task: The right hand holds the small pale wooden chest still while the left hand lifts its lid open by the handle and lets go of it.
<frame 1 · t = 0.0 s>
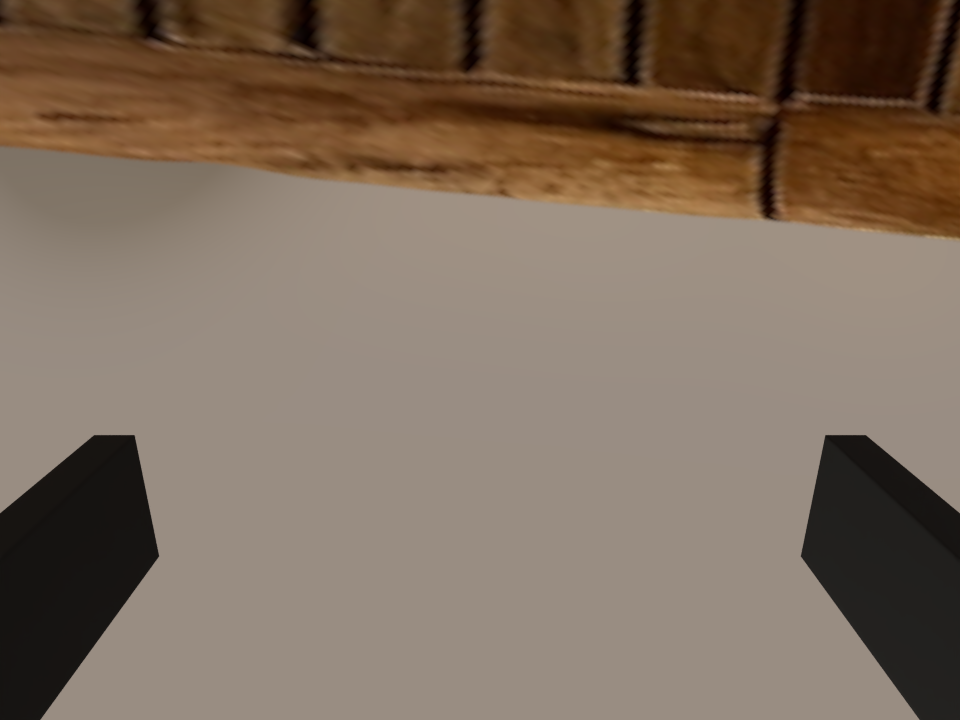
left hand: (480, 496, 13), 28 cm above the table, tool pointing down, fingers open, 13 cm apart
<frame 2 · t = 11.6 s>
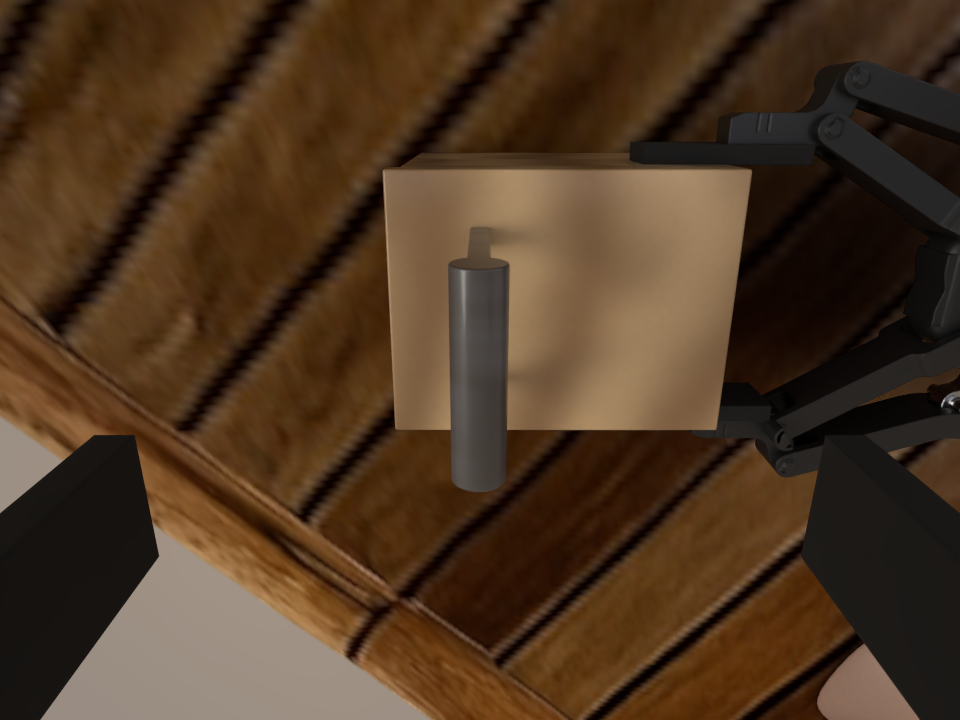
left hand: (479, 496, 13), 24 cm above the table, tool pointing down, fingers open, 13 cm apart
chest: (542, 253, 35), on the table, touching right hand
anatomical model: (919, 681, 45), on the table
lid: (573, 337, 22), point 14 cm above the table, hinge at 0.0°
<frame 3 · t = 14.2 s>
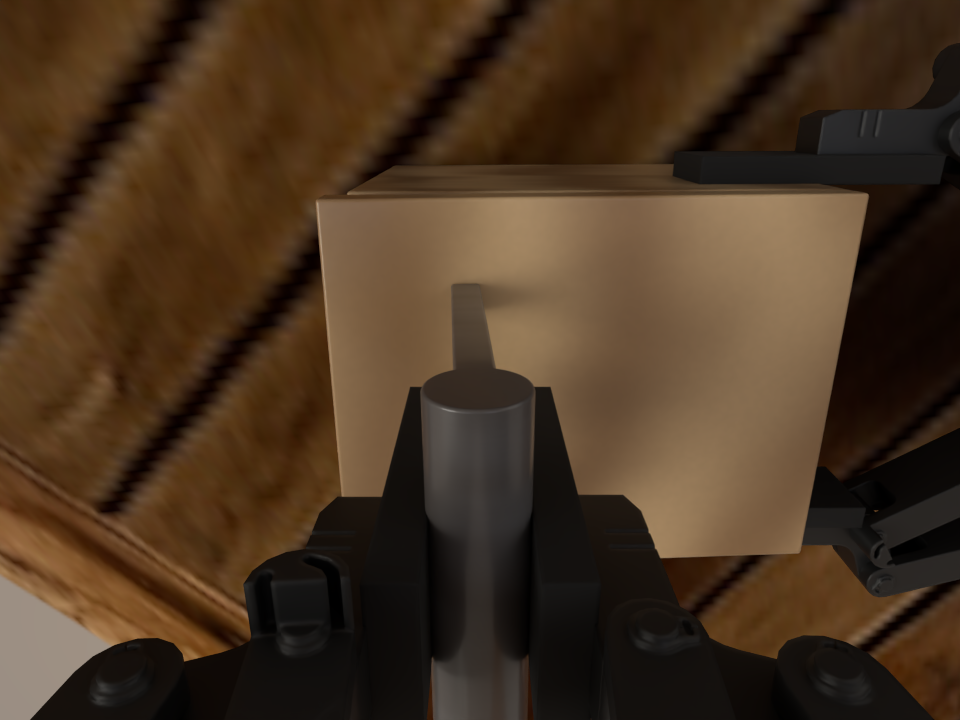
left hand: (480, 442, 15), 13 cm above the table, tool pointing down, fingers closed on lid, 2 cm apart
chest: (551, 292, 28), on the table, touching right hand
lid: (618, 461, 14), point 14 cm above the table, hinge at 2.9°, touching left hand
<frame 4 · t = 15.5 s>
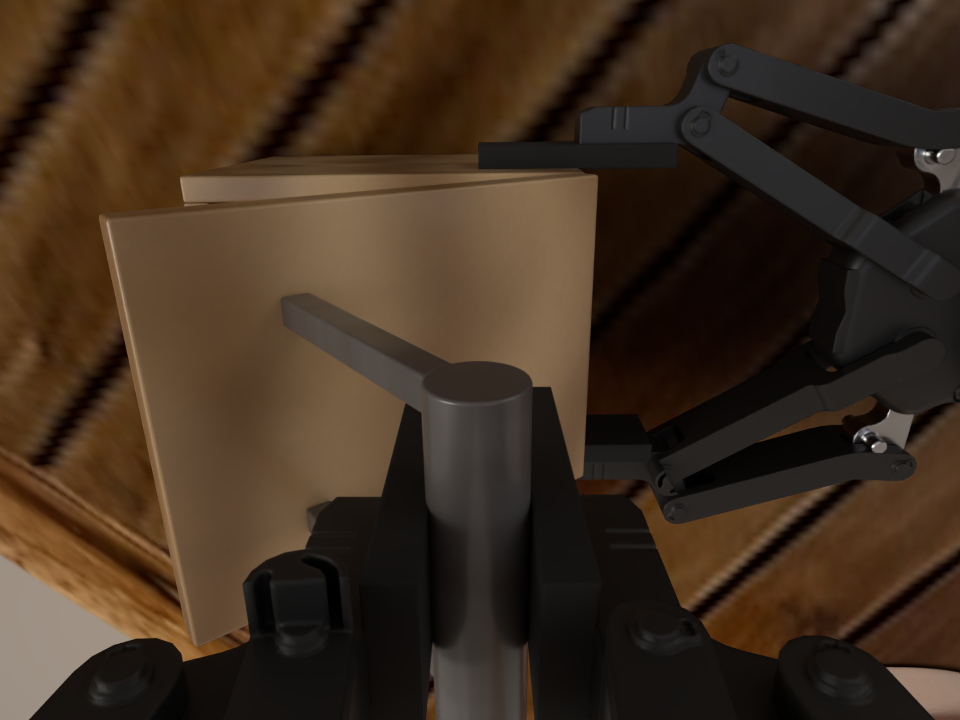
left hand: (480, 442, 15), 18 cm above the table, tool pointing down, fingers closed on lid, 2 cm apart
right hand: (480, 308, 25), fingers closed on chest, 10 cm apart
chest: (418, 267, 31), on the table, touching right hand
lid: (496, 432, 15), point 17 cm above the table, hinge at 37.2°, touching left hand
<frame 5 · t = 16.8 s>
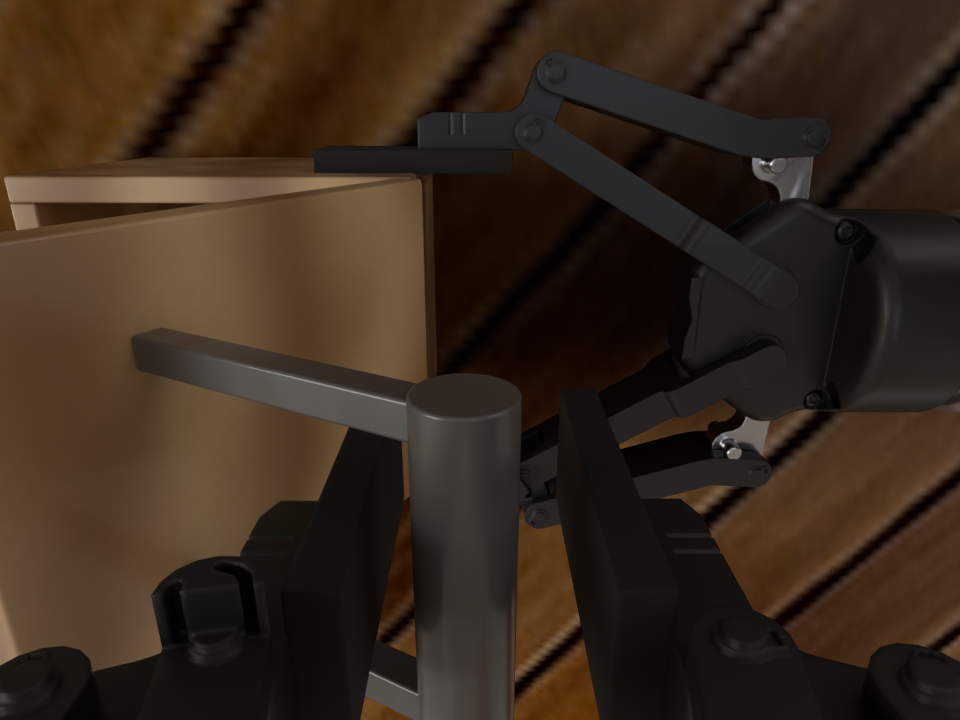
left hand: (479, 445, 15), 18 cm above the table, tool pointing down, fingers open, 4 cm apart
right hand: (334, 311, 25), fingers closed on chest, 10 cm apart
chest: (301, 270, 31), on the table, touching right hand
lid: (396, 449, 15), point 18 cm above the table, hinge at 61.4°
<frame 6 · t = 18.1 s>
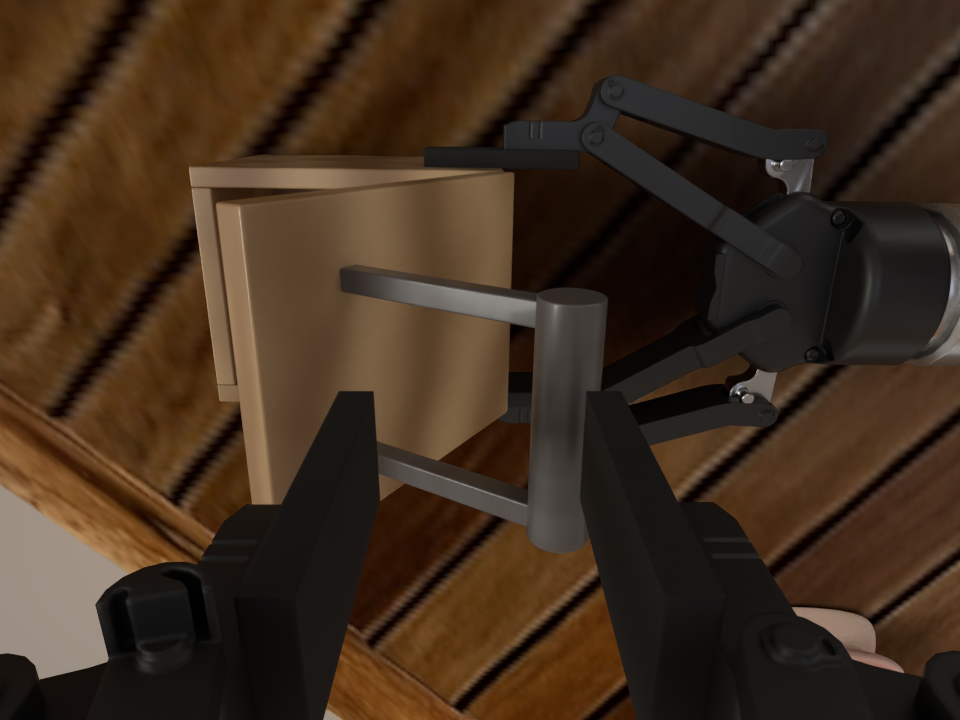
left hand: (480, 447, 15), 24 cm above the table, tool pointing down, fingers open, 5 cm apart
right hand: (428, 279, 31), fingers closed on chest, 10 cm apart
chest: (383, 250, 37), on the table, touching right hand
anatomical model: (774, 664, 48), on the table
lid: (503, 360, 21), point 18 cm above the table, hinge at 58.0°
when the right hand's fingers open (7 cm above the table, at t = 20.7 s): chest stays where it is, on the table.
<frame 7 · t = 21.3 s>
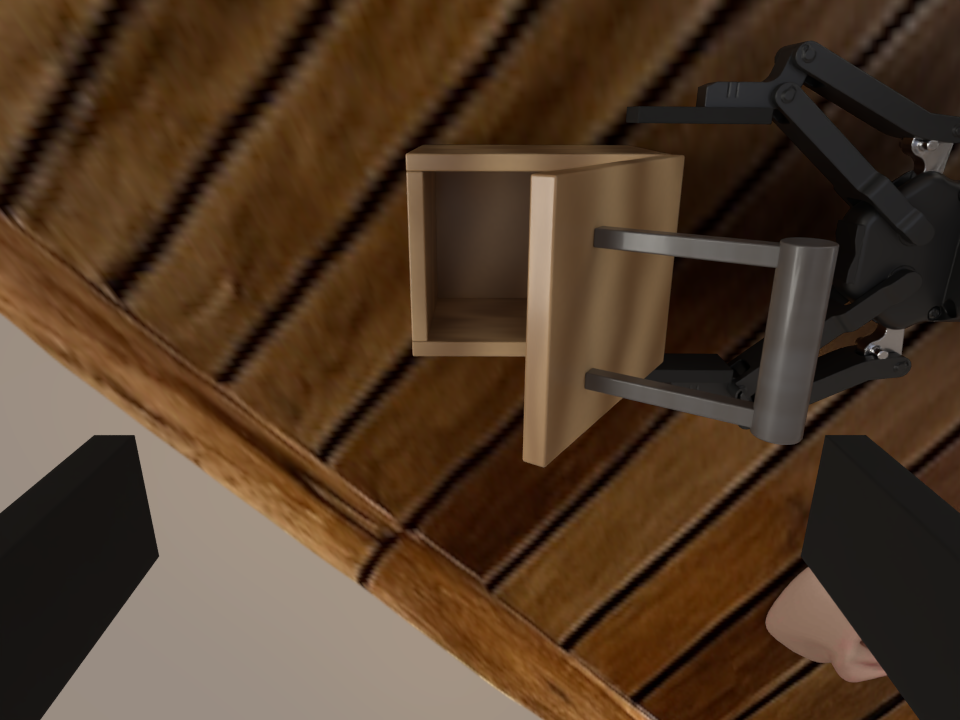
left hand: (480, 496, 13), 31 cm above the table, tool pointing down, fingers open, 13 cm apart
right hand: (619, 249, 36), fingers open, 13 cm apart
chest: (523, 229, 42), on the table
anatomical model: (853, 604, 53), on the table
lid: (707, 304, 25), point 18 cm above the table, hinge at 57.0°
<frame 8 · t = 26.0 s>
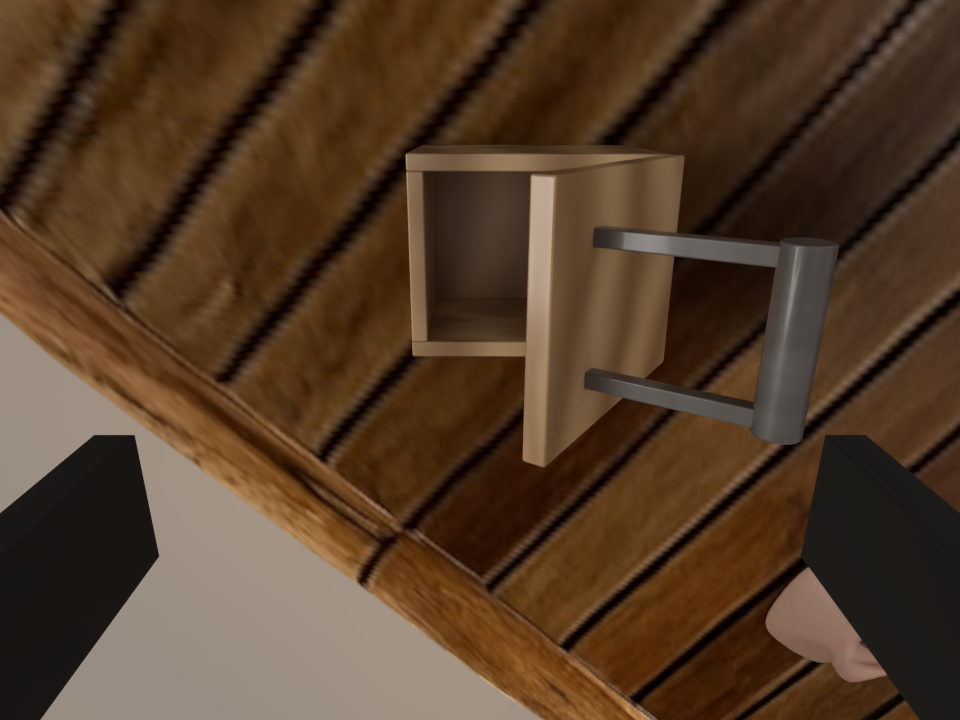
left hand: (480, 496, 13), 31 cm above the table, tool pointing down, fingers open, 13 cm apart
chest: (523, 229, 42), on the table
anatomical model: (853, 604, 53), on the table
lid: (707, 304, 25), point 18 cm above the table, hinge at 56.9°
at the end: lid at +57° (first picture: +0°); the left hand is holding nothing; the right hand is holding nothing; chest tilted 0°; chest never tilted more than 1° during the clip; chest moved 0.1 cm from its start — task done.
